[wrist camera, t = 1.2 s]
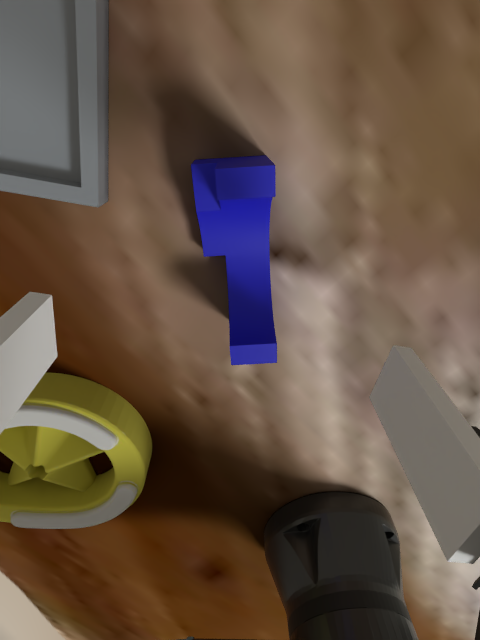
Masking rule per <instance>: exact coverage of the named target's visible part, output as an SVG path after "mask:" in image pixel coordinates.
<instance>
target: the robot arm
mask: <svg viewBox="0 0 480 640" xmlns="http://www.w3.org/2000/svg"><path fill="white" fill-rule="evenodd" d="M56 358H57V348H56V336H55V325H54V314H53V302H52V295H48V294H41V293H35V292H29V293H28V294H27V295H26V296H24V297H23V298H22V299H21V300H20V301H19V302H18V303H16V304H15V305H14V306H13V307H12V308H11V309H9V310H8V311H7V312H6V313H5V314H4V315H3V316H1V317H0V434H1V433H2V431H3V430H4V429H5V427H6V426H7V425H8V423H9V422H10V420H11V419H12V418H13V416H14V415H15V414H16V412H17V411H18V410H19V408H20V407H21V405H22V404H23V403H24V401H25V400H26V399H27V397H28V396H29V394H30V393H31V392H32V390H33V389H34V388H35V386H36V385H37V384H38V382H39V381H40V379H41V378H42V377H43V375H44V374H45V373H46V371H47V370H48V368H49V367H50V366H51V364H52V363H53V362H54V360H55V359H56ZM369 398H370V400H371V402H372V404H373V406H374V408H375V410H376V413H377V415H378V417H379V419H380V421H381V423H382V425H383V427H384V429H385V431H386V434H387V436H388V438H389V440H390V442H391V444H392V446H393V448H394V450H395V452H396V454H397V457H398V459H399V461H400V463H401V465H402V467H403V469H404V471H405V473H406V475H407V478H408V480H409V482H410V484H411V486H412V488H413V490H414V492H415V494H416V496H417V498H418V501H419V503H420V505H421V507H422V509H423V511H424V513H425V515H426V517H427V519H428V522H429V524H430V526H431V528H432V530H433V532H434V534H435V536H436V538H437V540H438V542H439V545H440V547H441V549H442V551H443V553H444V555H445V557H446V559H447V561H448V562H459V563H471V564H473V563H474V562H475V561H476V560H477V559H478V558H479V557H480V430H479V429H478V428H477V427H473V426H470V424H469V423H468V422H467V420H466V419H465V418H464V416H463V415H462V414H461V412H460V411H459V410H458V409H457V407H456V406H455V405H454V403H453V402H452V401H451V399H450V398H449V397H448V395H447V394H446V393H445V391H444V390H443V389H442V387H441V386H440V385H439V384H438V382H437V381H436V380H435V378H434V377H433V376H432V374H431V373H430V372H429V370H428V369H427V368H426V366H425V365H424V364H423V362H422V361H421V360H420V358H419V357H418V356H417V355H416V353H415V352H414V351H413V349H412V348H409V347H403V346H396V345H393V347H392V349H391V351H390V353H389V356H388V358H387V360H386V362H385V364H384V366H383V369H382V371H381V373H380V375H379V377H378V379H377V381H376V384H375V386H374V388H373V390H372V392H371V394H370V397H369ZM264 547H265V556H266V561H267V564H268V566H269V569H270V571H271V574H272V577H273V579H274V582H275V585H276V587H277V590H278V592H279V595H280V598H281V600H282V603H283V606H284V608H285V611H286V614H287V620H288V629H289V638H290V640H418V638H417V635H416V632H415V629H414V627H413V624H412V621H411V618H410V616H409V613H408V610H407V607H406V604H405V601H404V597H403V584H402V571H401V557H400V543H399V537H398V534H397V531H396V528H395V526H394V523H393V521H392V518H391V516H390V514H389V512H388V511H387V509H386V508H385V507H384V506H383V505H381V504H380V503H379V502H377V501H375V500H373V499H371V498H369V497H366V496H363V495H359V494H354V493H347V492H328V493H320V494H314V495H310V496H306V497H303V498H300V499H298V500H295V501H293V502H291V503H289V504H287V505H285V506H284V507H282V508H281V509H279V510H278V511H277V512H276V513H275V514H274V515H273V516H272V517H271V518H270V519H269V521H268V522H267V524H266V526H265V529H264ZM472 587H473V588H474V589H476V590H477V589H478V588H479V587H480V577H479V578H478V579H477V580H476V581H475V582H474V584H473V586H472ZM178 640H255V639H194V637H190V636H189V637H187V639H178ZM475 640H480V611H479V617H478V623H477V629H476V635H475Z"/></svg>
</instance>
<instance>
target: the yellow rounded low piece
mask: <svg viewBox="0 0 480 640" xmlns="http://www.w3.org/2000/svg"><path fill="white" fill-rule="evenodd" d="M0 451H1V452H2V453H3V454H4V455H6V456H7V457H8V458H10V459H11V460H12V461H13V465H12V468H11V470H10V473H9V474H8V473H2V472H1V471H0V521H2V522H11V523H12V524H13V525H14V526H17V527H23V528H44V529H67V528H83V527H89V526H93V525H97V524H101V523H103V522H106V521H109V520H111V519H113V518H115V517H116V516H118V515H119V514H121V513H122V512H123V511H125V510H126V509H127V508H128V507H130V506H131V505H132V504H133V503H134V502H135V501H136V499H137V498H138V497H139V495H140V493H141V492H142V489H143V487H144V483H145V479H146V475H147V471H148V467H149V463H150V459H151V454H152V439H151V435H150V432H149V429H148V427H147V425H146V423H145V421H144V420H143V418H142V417H141V415H140V414H139V413H138V412H137V410H136V409H135V408H134V407H133V406H132V405H131V404H130V403H128V402H127V401H126V400H125V399H124V398H122V397H121V396H120V395H118V394H117V393H115V392H113V391H112V390H110V389H108V388H106V387H104V386H102V385H100V384H98V383H95V382H93V381H90V380H87V379H84V378H81V377H77V376H72V375H67V374H61V373H45V374H44V375H43V377H42V378H41V379H40V381H39V382H38V384H37V385H36V386H35V388H34V389H33V390H32V392H31V393H30V394H29V396H28V397H27V399H26V400H25V401H24V403H23V404H22V405H21V407H20V408H19V410H18V411H17V412H16V414H15V415H14V416H13V418H12V419H11V420H10V422H9V423H8V425H7V426H6V427H5V429H4V430H3V431H2V433H1V434H0ZM102 452H105V453H106V454H107V456H108V457H109V459H110V460H111V462H112V465H113V468H112V469H111V470H109V471H107V472H105V473H103V474H101V475H98V476H96V474H95V471H94V469H93V467H92V465H91V463H90V461H89V459H88V458H89V457H92V456H94V455H97V454H100V453H102Z"/></svg>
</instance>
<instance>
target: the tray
mask: <svg viewBox="0 0 480 640" xmlns="http://www.w3.org/2000/svg"><path fill="white" fill-rule="evenodd" d="M0 190H1V191H6V192H12V193H18V194H24V195H30V196H35V197H41V198H47V199H53V200H59V201H64V202H70V203H76V204H82V205H88V206H93V207H100V206H101V205H103V204H104V203H106V202H108V0H0Z"/></svg>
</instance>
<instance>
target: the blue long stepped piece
mask: <svg viewBox="0 0 480 640" xmlns="http://www.w3.org/2000/svg"><path fill="white" fill-rule="evenodd" d="M191 170H192V179H193V187H194V196H195V205H196V213H197V217H198V221H199V226H200V232H201V238H202V245H203V253H204V257H206V256H222V255H226V266H227V281H228V299H229V324H230V355H231V365H243V364H261V363H277V342H276V336H275V329H274V321H273V311H272V299H271V284H270V260H269V222H270V207H271V200H272V197H275V165H274V163H273V162H272V161H271V160H270V159H269V158H268V157H267V156H266V155H262V156H247V157H231V158H215V159H200V160H195V161H194V162H193V163H192V164H191Z"/></svg>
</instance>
